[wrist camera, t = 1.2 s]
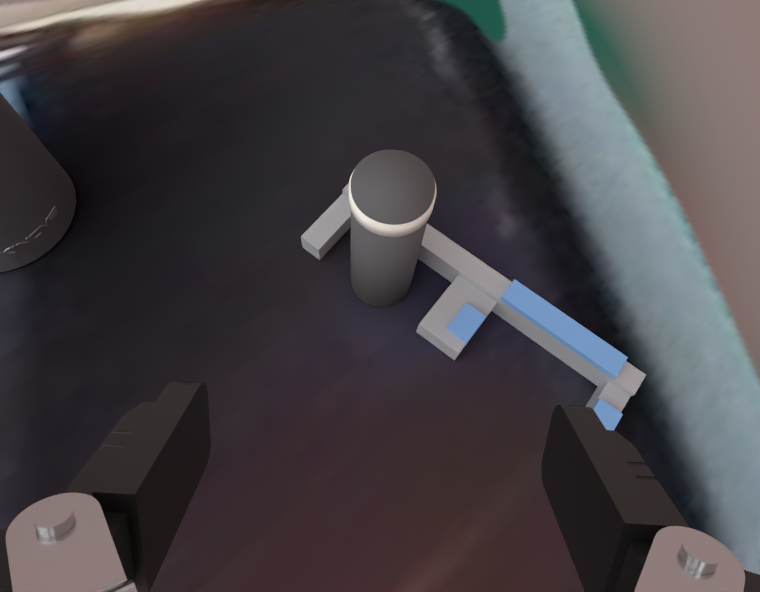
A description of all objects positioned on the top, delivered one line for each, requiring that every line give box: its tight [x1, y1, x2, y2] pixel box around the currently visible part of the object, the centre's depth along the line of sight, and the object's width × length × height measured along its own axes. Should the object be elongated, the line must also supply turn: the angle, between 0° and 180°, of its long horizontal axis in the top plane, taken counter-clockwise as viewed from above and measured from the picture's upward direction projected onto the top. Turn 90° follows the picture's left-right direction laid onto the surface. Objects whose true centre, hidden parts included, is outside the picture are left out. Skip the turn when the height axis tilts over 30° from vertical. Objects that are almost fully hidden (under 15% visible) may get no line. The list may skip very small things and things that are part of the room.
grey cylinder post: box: [349, 150, 436, 307], centre depth 30 cm, size 4×4×11 cm
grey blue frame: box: [301, 183, 646, 430], centre depth 34 cm, size 22×6×2 cm, turn 52°
